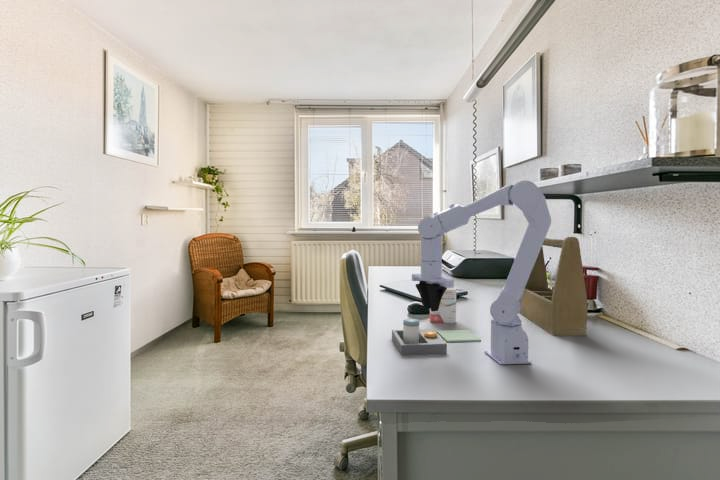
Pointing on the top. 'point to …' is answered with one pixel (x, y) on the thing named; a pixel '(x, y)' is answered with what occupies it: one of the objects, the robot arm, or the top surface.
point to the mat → (458, 336)
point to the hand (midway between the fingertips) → (430, 309)
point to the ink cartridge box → (446, 307)
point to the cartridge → (410, 331)
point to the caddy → (558, 292)
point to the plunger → (430, 334)
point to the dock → (419, 344)
